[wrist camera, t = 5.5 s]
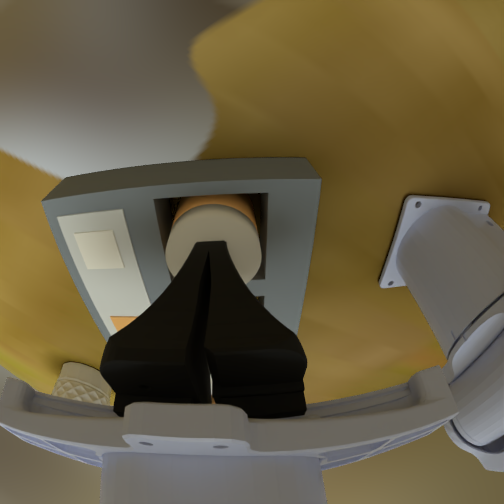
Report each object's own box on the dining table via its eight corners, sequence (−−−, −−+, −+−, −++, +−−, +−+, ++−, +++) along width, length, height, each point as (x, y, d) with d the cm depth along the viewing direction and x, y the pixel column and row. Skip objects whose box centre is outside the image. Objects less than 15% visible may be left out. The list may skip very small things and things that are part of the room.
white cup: (50, 367, 27) (32, 435, 19) (72, 351, 25) (50, 434, 17) (99, 394, 31) (88, 458, 23) (128, 383, 29) (118, 460, 21)
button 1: (254, 177, 15) (262, 215, 12) (253, 244, 18) (260, 291, 14) (172, 182, 15) (157, 220, 11) (182, 248, 17) (174, 294, 14)
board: (305, 157, 15) (322, 181, 12) (276, 386, 30) (280, 410, 28) (65, 177, 14) (39, 203, 11) (158, 389, 30) (155, 413, 27)
